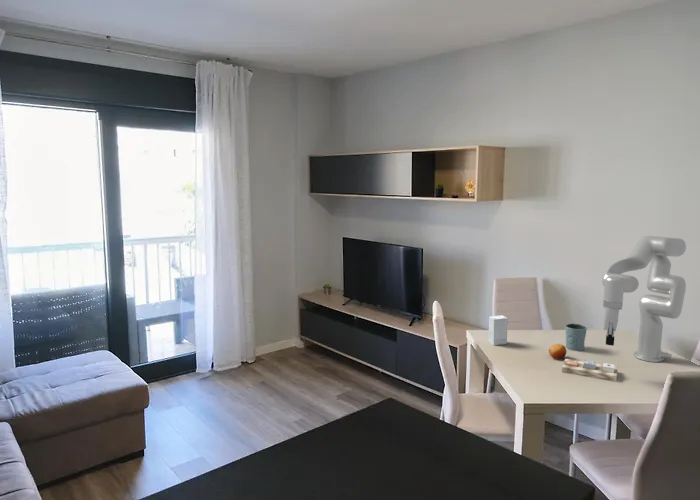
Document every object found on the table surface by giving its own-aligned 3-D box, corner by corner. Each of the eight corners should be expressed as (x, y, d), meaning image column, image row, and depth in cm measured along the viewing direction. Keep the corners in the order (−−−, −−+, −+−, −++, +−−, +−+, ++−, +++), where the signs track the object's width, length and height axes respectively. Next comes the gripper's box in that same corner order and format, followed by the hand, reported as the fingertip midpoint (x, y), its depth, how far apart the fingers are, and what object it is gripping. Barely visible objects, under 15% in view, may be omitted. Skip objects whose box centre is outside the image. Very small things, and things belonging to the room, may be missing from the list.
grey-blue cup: (581, 345, 259) (582, 323, 258) (588, 351, 250) (590, 329, 248) (561, 344, 260) (562, 323, 259) (568, 351, 250) (569, 328, 249)
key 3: (577, 366, 228) (578, 361, 227) (576, 370, 224) (576, 364, 224) (567, 365, 230) (567, 359, 230) (565, 368, 226) (566, 362, 226)
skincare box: (501, 341, 267) (502, 314, 265) (507, 344, 261) (508, 317, 259) (487, 342, 265) (488, 315, 263) (493, 345, 260) (494, 318, 258)
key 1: (614, 369, 220) (614, 364, 220) (613, 373, 216) (614, 367, 216) (602, 368, 222) (603, 362, 222) (602, 371, 218) (602, 365, 218)
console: (617, 372, 223) (617, 367, 223) (616, 381, 213) (616, 376, 212) (565, 363, 234) (565, 358, 234) (561, 371, 224) (562, 366, 223)
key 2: (595, 366, 224) (596, 361, 223) (595, 370, 220) (595, 364, 220) (584, 364, 226) (585, 359, 226) (583, 368, 222) (584, 362, 222)
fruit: (571, 358, 237) (563, 344, 236) (556, 365, 238) (548, 351, 238) (568, 352, 244) (560, 339, 244) (553, 359, 246) (545, 346, 246)
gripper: (604, 300, 223) (601, 338, 226) (602, 307, 210) (599, 348, 213) (623, 302, 219) (619, 341, 222) (621, 309, 207) (618, 351, 209)
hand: (609, 344), depth 217 cm, fingers closed
